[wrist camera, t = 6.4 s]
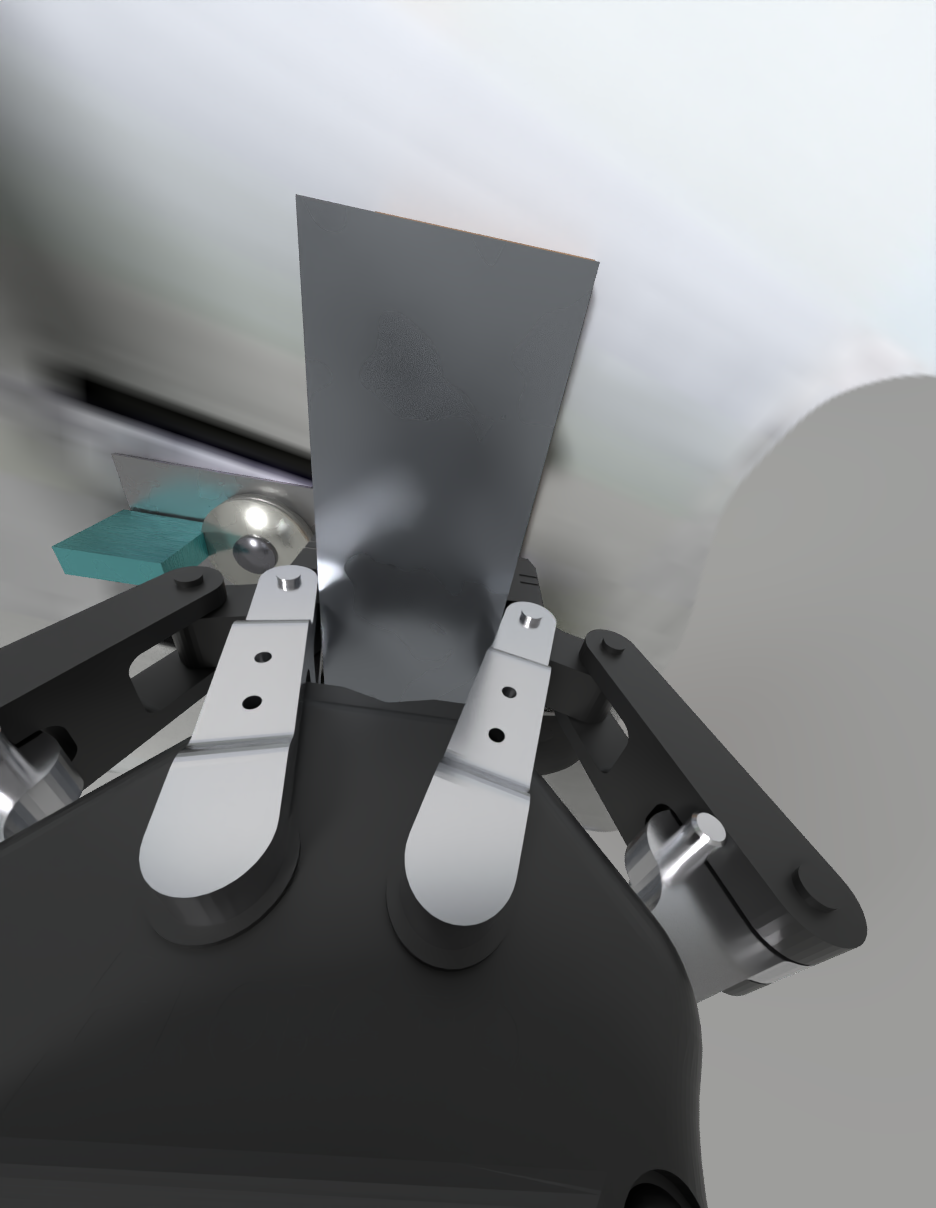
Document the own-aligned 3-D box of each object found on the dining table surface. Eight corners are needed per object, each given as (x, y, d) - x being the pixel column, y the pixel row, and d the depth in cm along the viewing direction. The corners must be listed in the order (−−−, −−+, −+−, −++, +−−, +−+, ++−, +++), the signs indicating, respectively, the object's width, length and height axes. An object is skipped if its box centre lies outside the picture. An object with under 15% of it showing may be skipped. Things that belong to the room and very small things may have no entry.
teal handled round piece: (109, 469, 28) (29, 500, 23) (315, 504, 29) (280, 541, 24) (143, 567, 32) (83, 610, 27) (320, 594, 33) (292, 641, 28)
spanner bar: (346, 245, 9) (235, 181, 5) (579, 295, 9) (653, 274, 5) (349, 732, 19) (314, 841, 15) (461, 746, 20) (455, 857, 16)
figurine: (460, 719, 47) (594, 732, 43) (437, 802, 39) (598, 827, 35) (450, 674, 43) (598, 684, 39) (422, 757, 35) (604, 780, 31)
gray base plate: (114, 453, 28) (111, 454, 28) (373, 497, 29) (372, 499, 29) (171, 620, 36) (169, 622, 36) (368, 649, 38) (367, 651, 37)
